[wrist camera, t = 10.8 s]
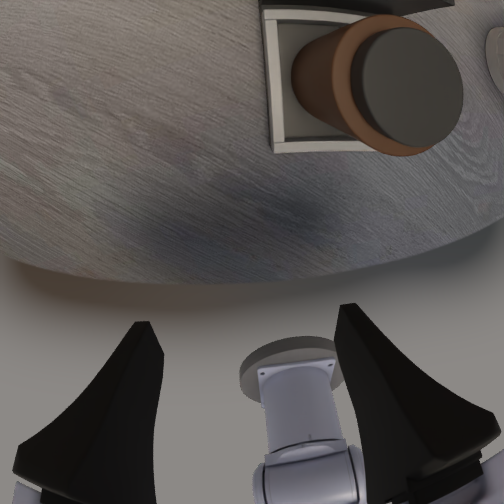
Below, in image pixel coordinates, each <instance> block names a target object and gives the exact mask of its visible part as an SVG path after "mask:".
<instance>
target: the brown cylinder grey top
mask: <svg viewBox="0 0 504 504" xmlns="http://www.w3.org/2000/svg"><path fill="white" fill-rule="evenodd" d="M291 84H292V88H293V92H294V94H295V96H296V98H297V100H298V102H299V103H300V104H301V106H302V107H303V108H304V109H305V110H306V111H307V112H308V113H309V114H311V115H312V116H313V117H315V118H317V119H319V120H321V121H323V122H325V123H327V124H329V125H331V126H333V127H335V128H336V129H338V130H340V131H342V132H344V133H346V134H348V135H349V136H351V137H353V138H355V139H357V140H358V141H360V142H362V143H364V144H365V145H367V146H369V147H371V148H372V149H374V150H376V151H379V152H381V153H383V154H387V155H391V156H411V155H416V154H419V153H422V152H424V151H426V150H428V149H430V148H431V147H432V146H434V145H435V144H437V143H439V142H440V141H442V140H443V139H445V138H446V137H447V136H448V135H449V134H450V133H451V131H452V130H453V129H454V127H455V126H456V124H457V122H458V120H459V117H460V114H461V111H462V106H463V84H462V79H461V75H460V72H459V69H458V67H457V65H456V63H455V61H454V59H453V57H452V56H451V54H450V53H449V52H448V50H447V49H446V48H445V47H444V46H443V45H442V44H441V43H440V42H439V41H438V40H437V39H436V38H435V37H434V36H433V35H432V34H431V33H429V32H428V31H427V30H426V29H425V28H423V27H422V26H420V25H419V24H417V23H415V22H413V21H411V20H409V19H406V18H403V17H400V16H396V15H389V14H380V15H373V16H369V17H366V18H363V19H361V20H358V21H356V22H353V23H351V24H348V25H346V26H344V27H341V28H339V29H337V30H334V31H332V32H330V33H328V34H326V35H324V36H321V37H319V38H317V39H315V40H313V41H311V42H310V43H308V44H307V45H305V46H304V47H303V48H302V49H301V50H300V51H299V53H298V54H297V56H296V57H295V59H294V62H293V65H292V69H291Z"/></svg>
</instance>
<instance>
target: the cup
mask: <svg viewBox="0 0 504 504" xmlns="http://www.w3.org/2000/svg"><path fill="white" fill-rule="evenodd" d="M485 51H486V60H487V65H488V69H489V72H490V75H491V77H492V79H493V81H494V83H495V85H496V87H497V88H498V90H499V91H500V92H501V93H502V94H503V95H504V27H495V28H493V29H491V30H490V32H489V33H488V35H487V39H486V46H485Z"/></svg>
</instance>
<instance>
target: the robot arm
mask: <svg viewBox="0 0 504 504" xmlns="http://www.w3.org/2000/svg"><path fill="white" fill-rule="evenodd" d="M334 343H335V348H336V353H337V357H338V362H339V365H340V368H341V371H342V374H343V377H344V380H345V383H346V386H347V389H348V392H349V395H350V398H351V401H352V404H353V407H354V410H355V414H356V418H357V423H358V428H359V433H360V438H361V445H362V451H361V449H360V448H358V447H355V445H350V446H348V448H347V444H346V440H345V439H343V436H342V432H341V427H340V423H339V419H338V415H337V411H336V407H335V402H334V398H333V395H332V390H331V386H330V382H331V378H332V374H333V370H334V366H335V362H336V360H335V358H334V357H327V358H320V359H313V360H306V361H299V362H290V363H282V364H273V365H262V366H259V367H258V368H257V373H258V381H259V390H260V398H261V406H262V408H264V409H265V414H266V426H267V437H268V448H269V454H266V455H265V463H260V464H259V465H258V467H257V469H256V470H255V471H254V474H253V496H254V501H255V504H387V503H390V502H392V504H504V449H503V450H502V451H500V452H499V453H497V454H496V455H494V456H493V457H491V458H489V459H488V460H486V461H485V462H483V463H481V464H480V461H479V459H480V458H482V453H481V451H480V450H481V449H482V448H484V447H485V446H486V445H488V444H489V443H491V442H492V441H493V440H494V439H496V438H497V437H498V436H499V435H500V433H501V429H500V427H499V425H498V422H497V420H496V418H495V416H494V414H493V413H492V412H490V411H488V410H485V409H483V408H481V407H479V406H476V405H474V404H472V403H470V402H468V401H467V400H465V399H463V398H461V397H459V396H458V395H456V394H454V393H453V392H451V391H450V390H448V389H447V388H445V387H444V386H442V385H441V384H439V383H438V382H436V381H435V380H434V379H432V378H431V377H430V376H428V375H427V374H426V373H424V372H423V371H422V370H421V369H420V368H419V367H417V366H416V365H415V364H414V363H413V362H412V361H411V360H409V359H408V358H407V357H406V356H405V355H404V354H403V353H402V352H401V351H400V350H399V349H398V348H397V347H396V346H395V345H394V344H393V343H392V342H391V341H390V340H389V339H388V338H387V337H386V336H385V335H384V334H383V333H382V332H381V331H380V330H379V329H378V327H377V326H376V325H375V324H374V323H373V322H372V321H371V320H370V319H369V317H368V316H367V315H366V314H365V313H364V312H363V311H362V310H361V308H360V307H359V306H358V305H357V304H356V303H350V304H343V305H340V309H339V314H338V320H337V325H336V331H335V336H334ZM163 367H164V353H163V350H162V348H161V346H160V344H159V342H158V340H157V337H156V335H155V333H154V331H153V329H152V326H151V324H150V322H149V321H143V322H142V321H140V322H135V323H134V324H133V325H132V327H131V328H130V329H129V331H128V332H127V334H126V335H125V337H124V338H123V339H122V341H121V342H120V344H119V345H118V346H117V348H116V349H115V351H114V352H113V353H112V355H111V356H110V358H109V359H108V360H107V362H106V363H105V365H104V366H103V367H102V369H101V370H100V371H99V372H98V374H97V375H96V376H95V378H94V379H93V380H92V382H91V383H90V384H89V385H88V387H87V388H86V389H85V390H84V391H83V392H82V393H81V394H80V396H79V397H78V398H77V399H76V400H75V401H74V402H73V403H72V404H71V405H70V406H69V407H68V408H67V409H66V410H65V411H64V412H62V414H60V415H59V416H58V417H57V418H56V419H55V420H54V421H52V423H50V424H49V425H47V426H46V427H45V428H44V429H42V430H41V431H40V432H38V433H37V434H35V435H34V436H33V437H31V438H30V439H28V440H27V441H25V442H23V443H22V444H20V445H19V446H18V450H17V454H16V457H15V462H14V466H13V470H12V471H13V473H14V474H16V475H18V476H19V477H21V478H23V479H25V480H27V481H29V482H31V483H33V484H35V485H37V486H39V487H41V488H42V492H38V491H36V490H34V489H32V488H30V487H28V486H26V485H24V484H22V483H20V482H18V481H17V482H16V485H15V490H14V496H13V502H12V504H157V503H156V496H155V485H154V473H153V472H154V471H153V439H154V438H153V436H154V426H155V419H156V413H157V407H158V401H159V396H160V390H161V384H162V378H163ZM362 452H363V454H362Z"/></svg>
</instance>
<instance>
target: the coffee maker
mask: <svg viewBox="0 0 504 504" xmlns="http://www.w3.org/2000/svg"><path fill="white" fill-rule="evenodd" d="M454 5H455V3H454V0H259V10H260V21H261V32H262V44H263V56H264V68H265V81H266V95H267V109H268V124H269V140H270V146H271V148H272V150H273V152H274V154H279V153H297V152H326V151H376V150H374V149H372V148H371V147H369V146H367V145H365V144H364V143H362V142H360V141H358V140H357V139H355V138H353V137H351V136H349V135H348V134H346V133H344V132H342V131H340V130H338V129H336V128H335V127H333V126H331V125H329V124H327V123H325V122H323V121H321V120H319V119H317V118H315V117H313V116H312V115H311V114H309V113H308V112H307V111H306V110H305V109H304V108H303V107H302V106H301V104H300V103H299V102H298V100H297V98H296V96H295V94H294V92H293V88H292V84H291V69H292V65H293V62H294V59H295V57H296V56H297V54H298V53H299V51H300V50H301V49H302V48H303V47H304V46H305V45H307V44H308V43H310V42H311V41H313V40H315V39H317V38H319V37H321V36H324V35H326V34H328V33H330V32H332V31H334V30H337V29H339V28H341V27H344V26H346V25H348V24H351V23H353V22H356V21H358V20H361V19H363V18H366V17H369V16H373V15H380V14H389V15H396V16H404V15H409V14H413V13H417V12H422V11H427V10H432V9H437V8H443V7H449V6H454ZM377 152H379V151H377Z"/></svg>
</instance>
